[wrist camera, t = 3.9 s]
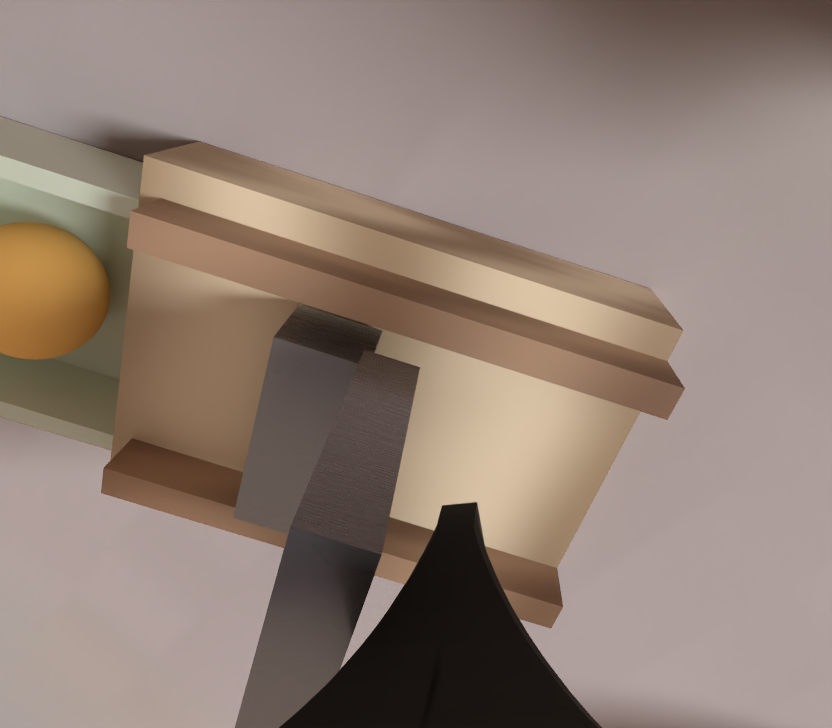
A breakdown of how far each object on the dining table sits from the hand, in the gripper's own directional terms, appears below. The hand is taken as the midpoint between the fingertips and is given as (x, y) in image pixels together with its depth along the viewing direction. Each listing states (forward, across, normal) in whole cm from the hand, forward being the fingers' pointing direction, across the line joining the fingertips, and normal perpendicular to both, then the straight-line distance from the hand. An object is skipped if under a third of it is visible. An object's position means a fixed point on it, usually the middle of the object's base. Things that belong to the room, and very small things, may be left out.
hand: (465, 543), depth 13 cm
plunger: (+3, +3, -2) cm, 5 cm away
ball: (+4, +10, -6) cm, 13 cm away
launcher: (+6, +2, -1) cm, 7 cm away
